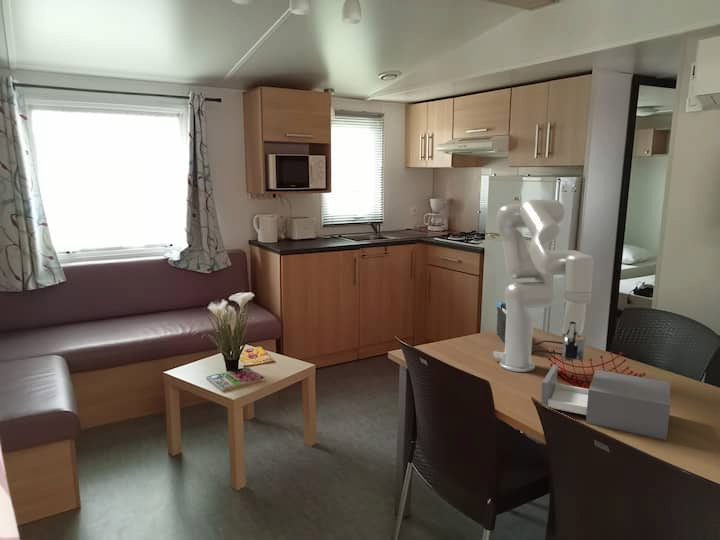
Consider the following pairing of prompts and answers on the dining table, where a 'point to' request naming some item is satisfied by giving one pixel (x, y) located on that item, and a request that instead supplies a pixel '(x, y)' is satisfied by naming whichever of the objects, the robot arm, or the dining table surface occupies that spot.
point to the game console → (501, 321)
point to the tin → (580, 347)
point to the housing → (629, 403)
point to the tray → (563, 394)
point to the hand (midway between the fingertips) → (572, 354)
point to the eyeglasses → (548, 351)
